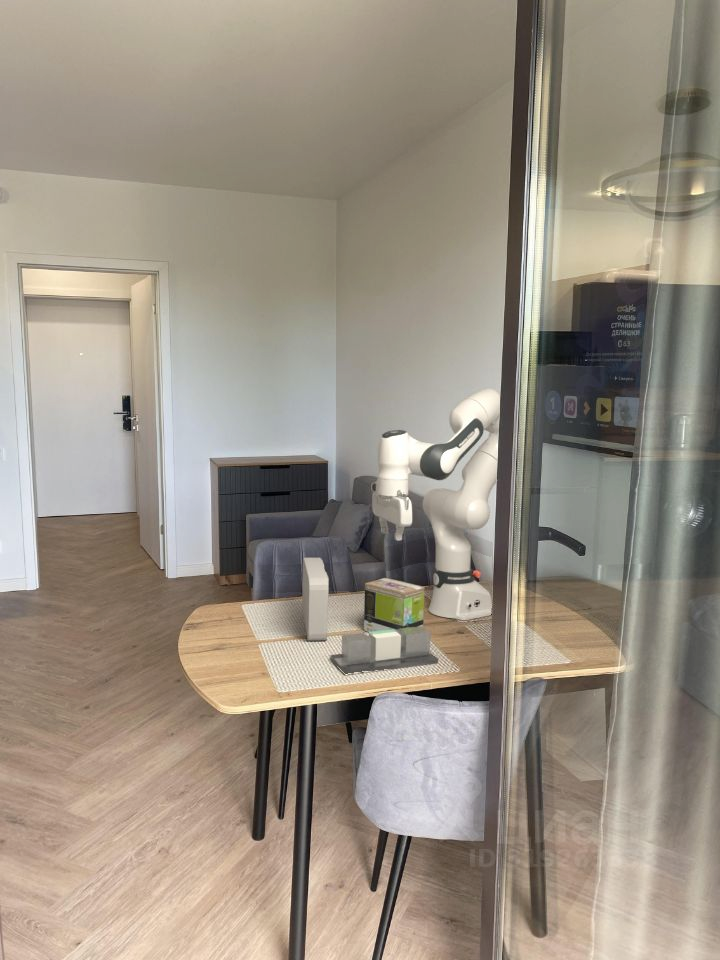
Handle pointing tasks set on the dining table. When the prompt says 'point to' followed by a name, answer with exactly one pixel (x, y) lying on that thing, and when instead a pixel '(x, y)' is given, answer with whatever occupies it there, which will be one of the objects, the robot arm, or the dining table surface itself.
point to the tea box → (392, 605)
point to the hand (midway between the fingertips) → (391, 536)
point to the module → (385, 644)
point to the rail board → (411, 654)
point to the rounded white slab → (315, 599)
